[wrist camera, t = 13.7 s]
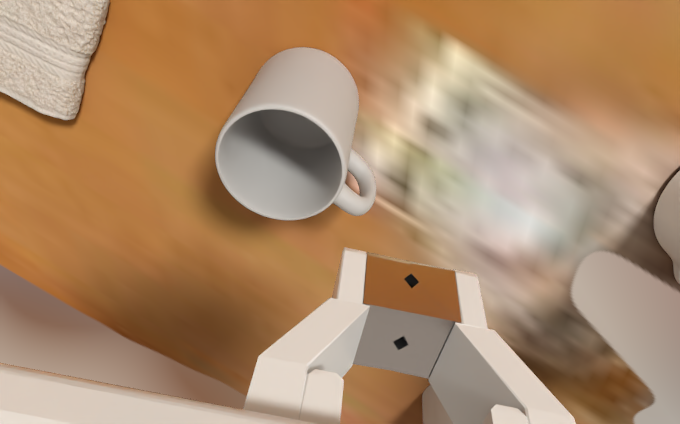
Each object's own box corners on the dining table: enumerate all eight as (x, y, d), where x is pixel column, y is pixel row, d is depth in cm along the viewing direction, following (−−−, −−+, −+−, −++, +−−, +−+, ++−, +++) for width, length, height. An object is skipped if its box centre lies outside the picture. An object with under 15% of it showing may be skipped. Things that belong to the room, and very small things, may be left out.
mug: (233, 100, 41) (187, 167, 32) (298, 21, 37) (266, 73, 28) (342, 188, 45) (328, 270, 36) (412, 126, 41) (415, 201, 32)
